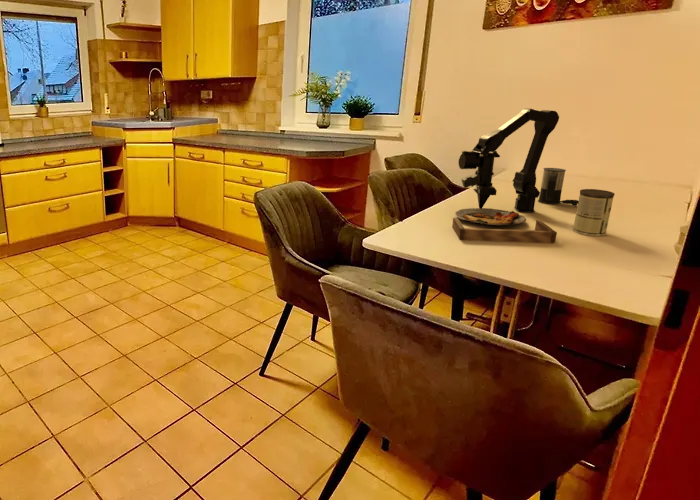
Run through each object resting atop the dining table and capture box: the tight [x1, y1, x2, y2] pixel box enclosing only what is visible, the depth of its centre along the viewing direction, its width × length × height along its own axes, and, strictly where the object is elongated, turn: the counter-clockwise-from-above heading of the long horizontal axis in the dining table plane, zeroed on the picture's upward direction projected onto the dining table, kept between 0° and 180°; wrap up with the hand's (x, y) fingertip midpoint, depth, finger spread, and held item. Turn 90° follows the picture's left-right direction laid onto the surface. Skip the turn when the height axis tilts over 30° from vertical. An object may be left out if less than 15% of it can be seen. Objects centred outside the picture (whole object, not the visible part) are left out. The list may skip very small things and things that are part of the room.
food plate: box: [454, 207, 527, 227], centre depth 165 cm, size 25×23×4 cm
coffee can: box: [572, 188, 615, 237], centre depth 152 cm, size 10×10×14 cm
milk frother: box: [537, 167, 579, 207], centre depth 193 cm, size 14×16×15 cm
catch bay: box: [451, 217, 558, 244], centre depth 148 cm, size 30×14×4 cm, turn 87°
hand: (480, 208), depth 178 cm, fingers closed
